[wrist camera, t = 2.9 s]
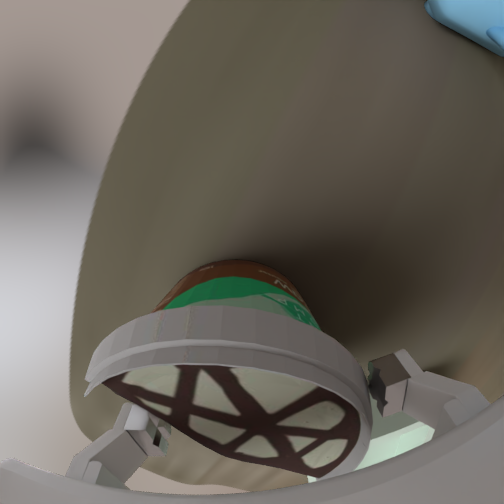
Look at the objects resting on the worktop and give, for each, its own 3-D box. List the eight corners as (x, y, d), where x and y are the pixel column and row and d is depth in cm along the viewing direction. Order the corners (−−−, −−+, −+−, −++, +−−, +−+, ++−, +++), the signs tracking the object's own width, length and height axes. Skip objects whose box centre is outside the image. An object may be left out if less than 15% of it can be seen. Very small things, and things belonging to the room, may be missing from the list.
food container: (363, 315, 18) (435, 426, 8) (301, 374, 19) (328, 494, 9) (211, 193, 15) (153, 241, 6) (152, 275, 17) (70, 386, 7)
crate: (418, 371, 20) (444, 409, 15) (394, 461, 24) (406, 489, 20) (294, 408, 20) (303, 457, 15) (310, 486, 25) (315, 517, 20)
